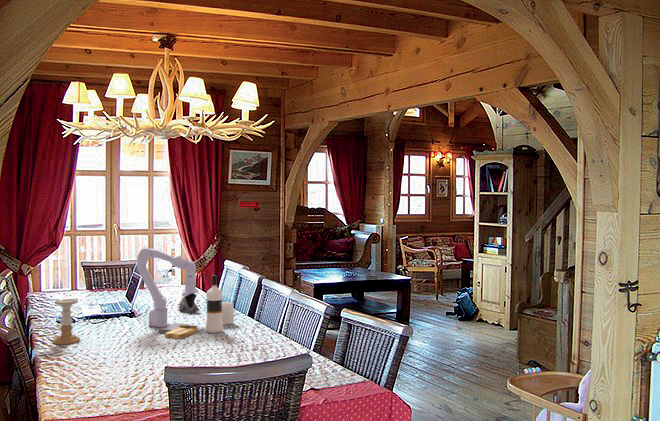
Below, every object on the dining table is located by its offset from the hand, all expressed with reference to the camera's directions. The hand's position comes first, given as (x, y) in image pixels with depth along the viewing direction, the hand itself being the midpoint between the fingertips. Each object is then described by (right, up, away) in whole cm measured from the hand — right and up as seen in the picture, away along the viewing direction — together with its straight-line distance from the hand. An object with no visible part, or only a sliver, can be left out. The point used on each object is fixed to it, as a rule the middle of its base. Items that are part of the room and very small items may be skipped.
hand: (190, 307), depth 349 cm
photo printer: (+19, -10, +1) cm, 21 cm away
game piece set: (+40, -12, -62) cm, 74 cm away
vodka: (+17, -10, -17) cm, 26 cm away
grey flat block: (-6, -10, -15) cm, 19 cm away
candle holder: (-51, -11, -42) cm, 67 cm away
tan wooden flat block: (+1, -10, -25) cm, 27 cm away
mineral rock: (-9, -9, +35) cm, 37 cm away
